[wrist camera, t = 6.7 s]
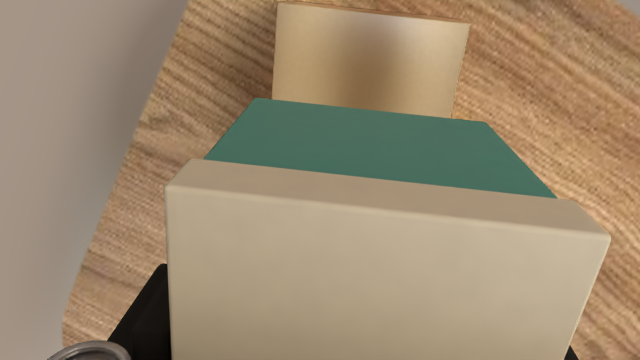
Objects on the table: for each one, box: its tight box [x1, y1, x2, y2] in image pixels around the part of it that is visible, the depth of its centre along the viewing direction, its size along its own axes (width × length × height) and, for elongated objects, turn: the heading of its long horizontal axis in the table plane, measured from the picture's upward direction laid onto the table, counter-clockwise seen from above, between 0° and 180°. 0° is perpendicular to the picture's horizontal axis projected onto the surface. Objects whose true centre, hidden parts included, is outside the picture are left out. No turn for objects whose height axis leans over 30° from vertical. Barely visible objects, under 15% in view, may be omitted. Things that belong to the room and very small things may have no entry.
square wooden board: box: [272, 0, 470, 118], centre depth 24 cm, size 9×9×3 cm
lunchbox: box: [164, 98, 611, 360], centre depth 9 cm, size 8×5×5 cm, turn 174°
